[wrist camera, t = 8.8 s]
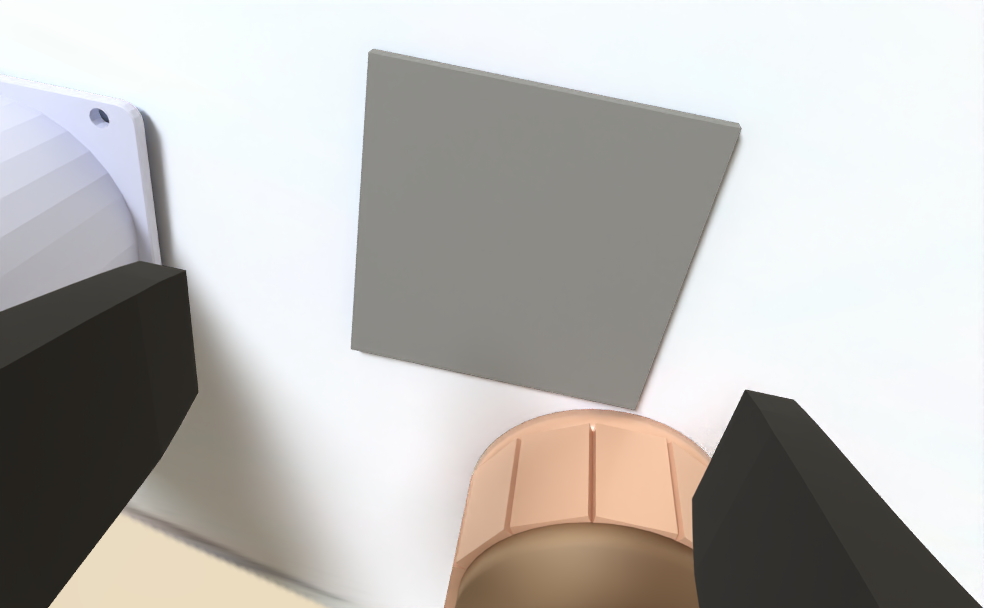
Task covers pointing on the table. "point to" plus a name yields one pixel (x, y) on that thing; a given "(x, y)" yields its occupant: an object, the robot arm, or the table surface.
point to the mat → (526, 226)
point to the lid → (581, 570)
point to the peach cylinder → (579, 480)
